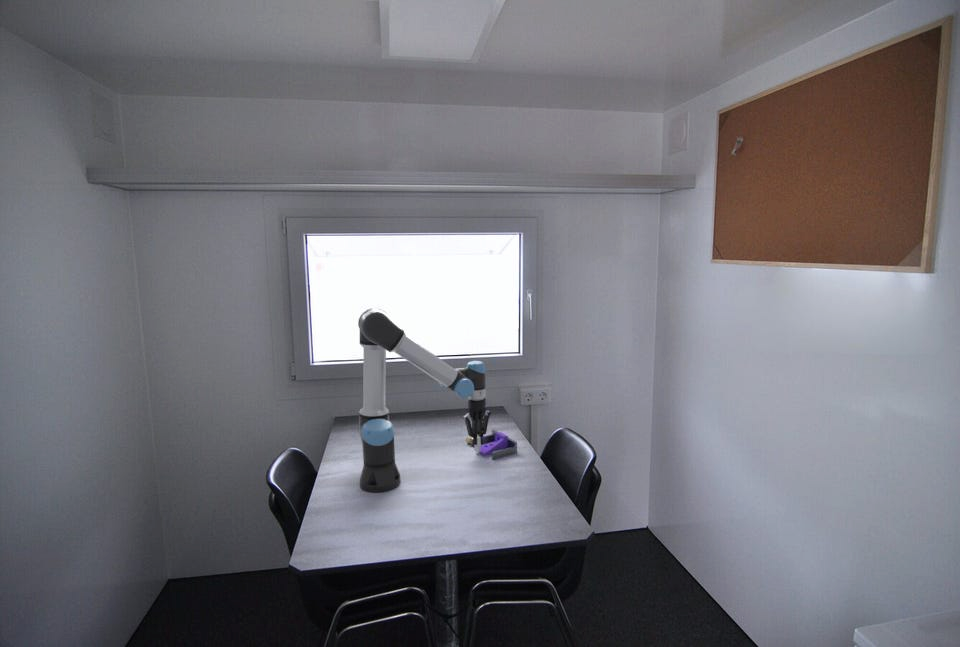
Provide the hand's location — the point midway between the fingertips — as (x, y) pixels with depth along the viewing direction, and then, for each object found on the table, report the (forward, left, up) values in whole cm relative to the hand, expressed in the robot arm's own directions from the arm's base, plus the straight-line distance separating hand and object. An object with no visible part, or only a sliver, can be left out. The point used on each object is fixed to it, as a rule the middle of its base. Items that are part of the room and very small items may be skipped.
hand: (477, 450), depth 219 cm
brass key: (+5, +12, -1) cm, 13 cm away
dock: (+8, 0, -1) cm, 8 cm away
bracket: (+7, -1, -2) cm, 7 cm away
